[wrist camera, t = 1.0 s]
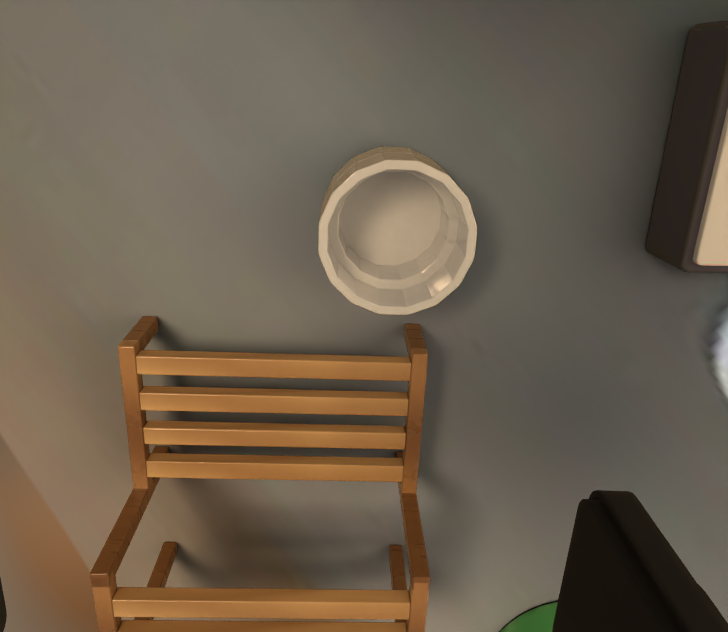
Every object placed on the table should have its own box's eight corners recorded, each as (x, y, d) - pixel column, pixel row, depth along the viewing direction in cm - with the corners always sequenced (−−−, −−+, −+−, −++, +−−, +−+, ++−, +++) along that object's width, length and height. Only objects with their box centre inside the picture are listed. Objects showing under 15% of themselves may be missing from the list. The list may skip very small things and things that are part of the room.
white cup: (324, 142, 30) (319, 156, 25) (461, 148, 31) (484, 163, 26) (321, 275, 33) (317, 312, 28) (449, 279, 33) (467, 317, 28)
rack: (142, 315, 33) (64, 409, 24) (419, 323, 34) (447, 417, 25) (164, 551, 39) (108, 700, 30) (401, 554, 40) (418, 701, 31)
